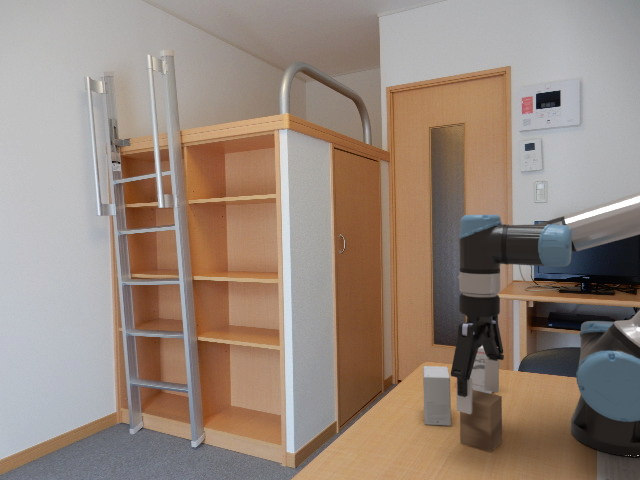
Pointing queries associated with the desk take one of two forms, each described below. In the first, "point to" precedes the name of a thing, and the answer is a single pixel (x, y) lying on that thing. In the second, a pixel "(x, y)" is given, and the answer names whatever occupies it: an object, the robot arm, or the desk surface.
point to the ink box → (479, 371)
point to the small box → (436, 395)
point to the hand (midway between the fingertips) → (478, 400)
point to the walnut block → (482, 422)
